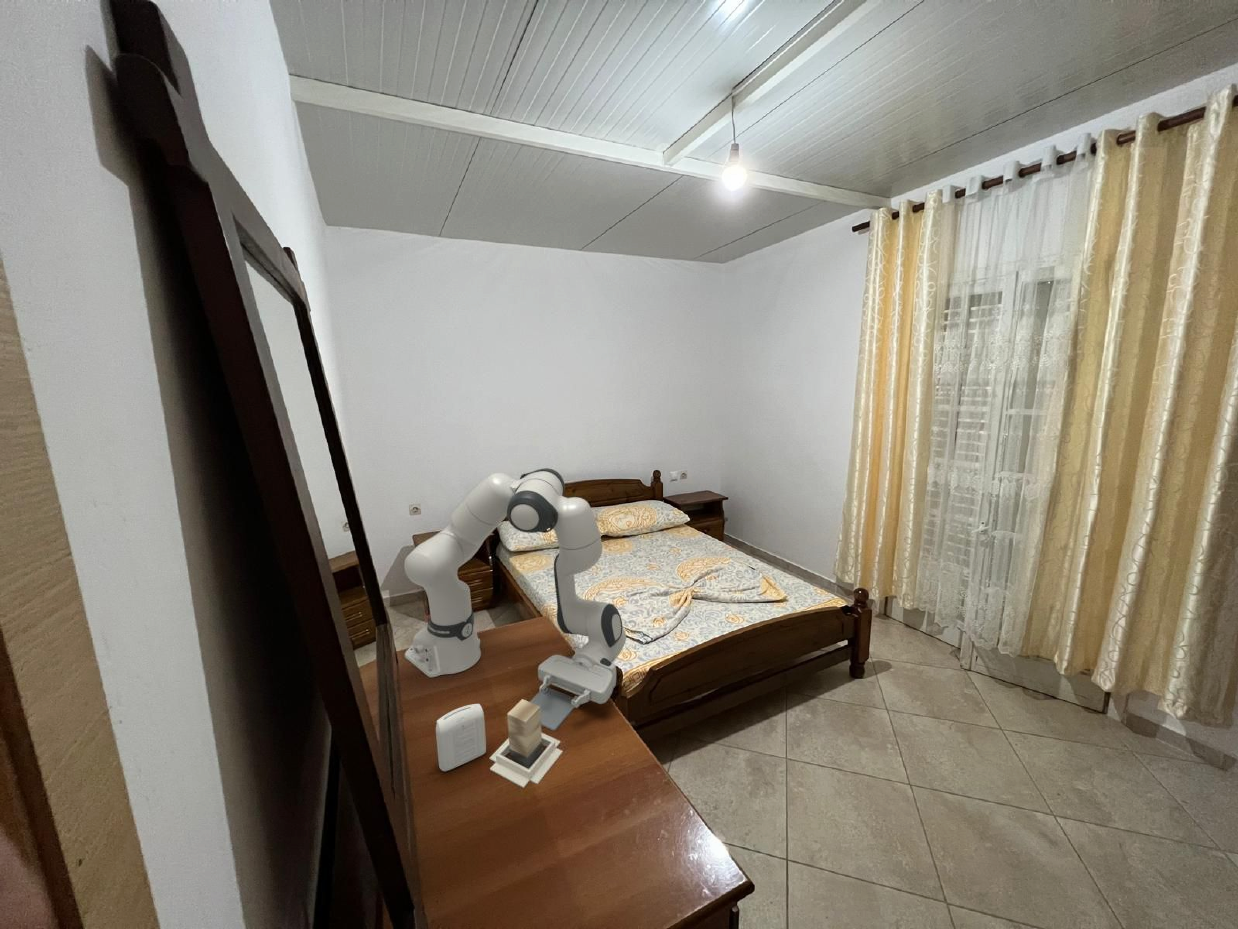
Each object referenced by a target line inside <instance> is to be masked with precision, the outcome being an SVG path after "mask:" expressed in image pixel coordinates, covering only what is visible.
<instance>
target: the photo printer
mask: <svg viewBox="0 0 1238 929" xmlns="http://www.w3.org/2000/svg"><path fill="white" fill-rule="evenodd" d="M435 722H436V725H435V726H436V727H435V735H436V736H435V738H436V745H437V746H436V747H437V748H436V749H437V758H438V766H439V770H441V771H442V772H448V771H450V770H453V769H455V768H457V767H459V766H461V765H465V764H466V763H469V762H470V761H473V760H476V759H477V758H479V757H481V756H483V755H485V754H486V753H487V740H486V738H487V737H486V724H485V723H486V722H485V712H484V709H483V707H482V706H481V704H480V703H474V704H473V703H472V704H468V705H464V706H461V707H459V708H456V709H453V710H452V711H449V712H447V713H446V714H444V715H443V716H441V717H439V718H438V719H437V720H436V721H435Z"/></svg>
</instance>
